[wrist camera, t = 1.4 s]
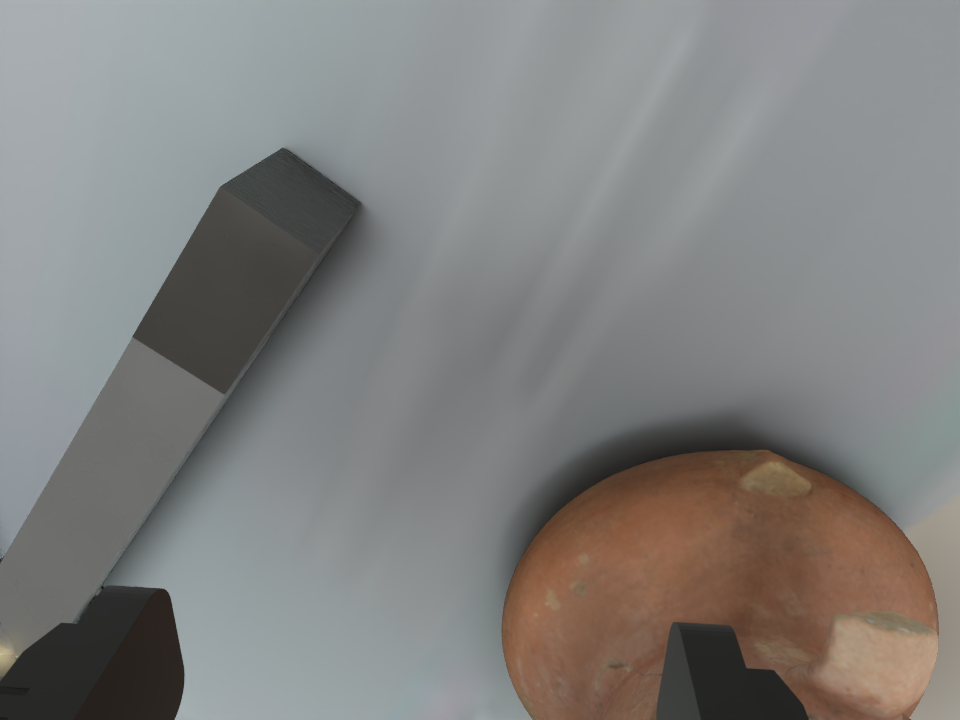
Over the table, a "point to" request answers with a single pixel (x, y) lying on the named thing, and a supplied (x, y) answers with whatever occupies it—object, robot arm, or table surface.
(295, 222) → the bar
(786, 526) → the ceramic jug
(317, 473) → the table surface
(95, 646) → the robot arm
